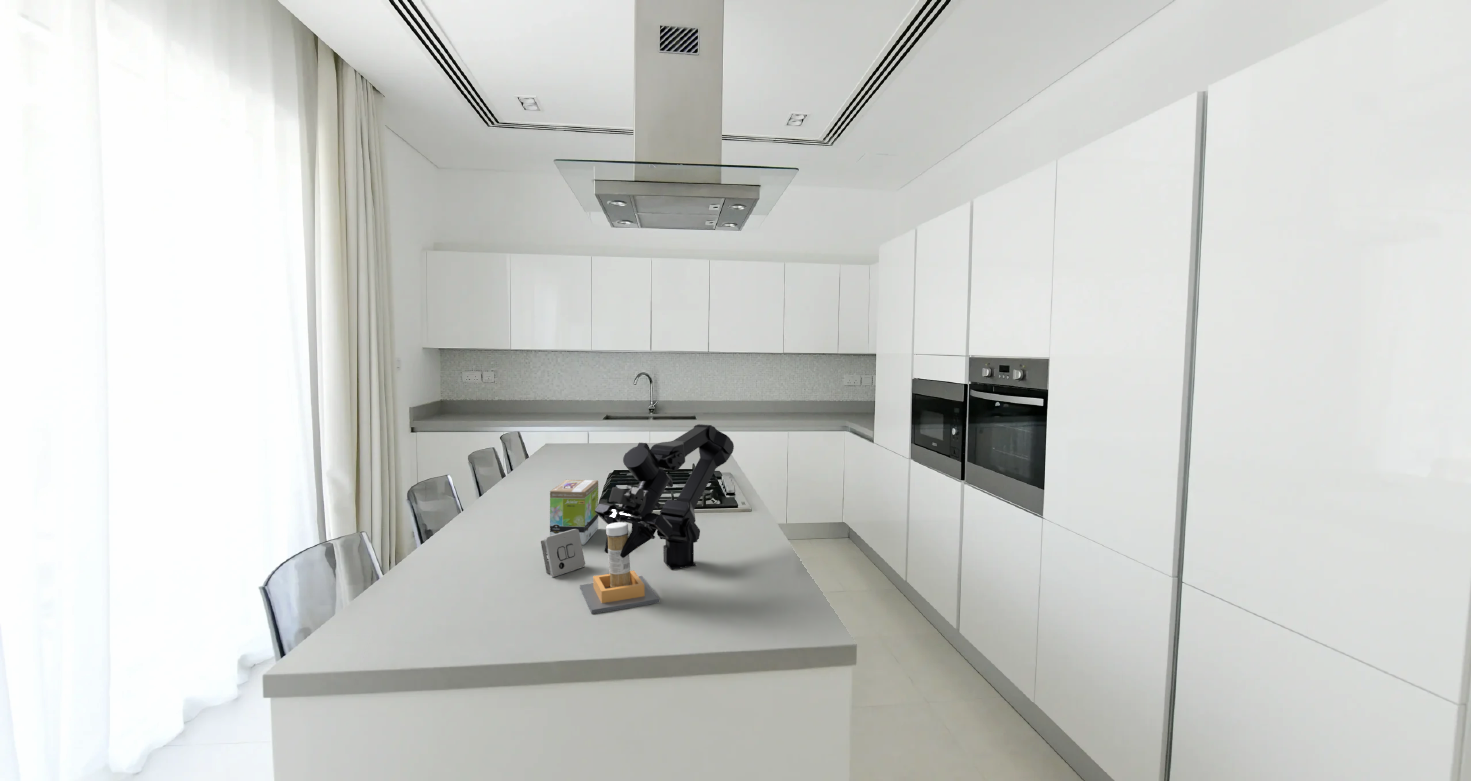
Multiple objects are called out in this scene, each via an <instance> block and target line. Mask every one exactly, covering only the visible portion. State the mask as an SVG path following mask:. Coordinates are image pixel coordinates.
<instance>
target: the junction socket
mask: <svg viewBox="0 0 1471 781" xmlns="http://www.w3.org/2000/svg"><path fill="white" fill-rule="evenodd" d="M592 577H593V578H592V580H593V582H591V583H583V584H580V585H579V590H580V592H581V595H582V596H583V598H584V601H585V603H586V605H587V607H588V609H589V610H590V613H591V615H594V614H600V613H605V612H612V611H617V610H618V611H619V610H623V609H624V610H625V609H630V608H635V607H641V606H647V605H653V604H659V603H660V597H659V596H658V595H657V594H656V592H655V590H653V588H652V587H651V586H650V584H649V583H648V582H647V580H646V579H645V578H644V577H643V575H638V574H637V573H636V571H635V570H630V581H631V585H627V586H621V587H614V588H611V587H610V573H607V574H606V573H605V574H599V575H593V576H592Z"/></svg>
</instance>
